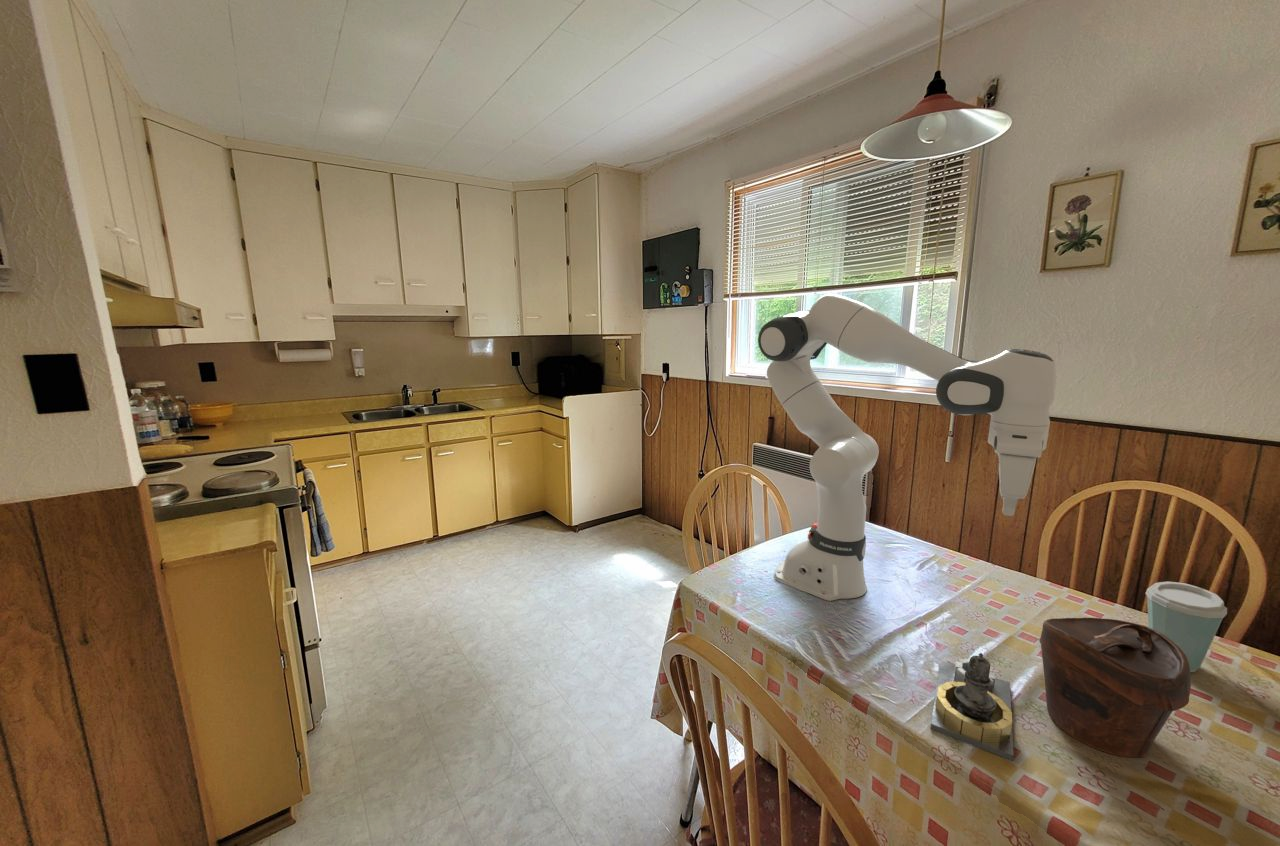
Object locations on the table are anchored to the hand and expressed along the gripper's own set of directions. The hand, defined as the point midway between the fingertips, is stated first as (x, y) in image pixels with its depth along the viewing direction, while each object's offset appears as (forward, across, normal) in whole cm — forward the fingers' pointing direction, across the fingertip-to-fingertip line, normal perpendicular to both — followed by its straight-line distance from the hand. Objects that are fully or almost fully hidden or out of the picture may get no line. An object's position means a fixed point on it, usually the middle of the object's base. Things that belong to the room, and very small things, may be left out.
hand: (1007, 506), depth 96 cm
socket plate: (+31, +20, -2) cm, 37 cm away
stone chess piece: (+30, +24, -2) cm, 39 cm away
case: (+31, +13, +15) cm, 37 cm away
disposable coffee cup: (+31, -16, +30) cm, 46 cm away
